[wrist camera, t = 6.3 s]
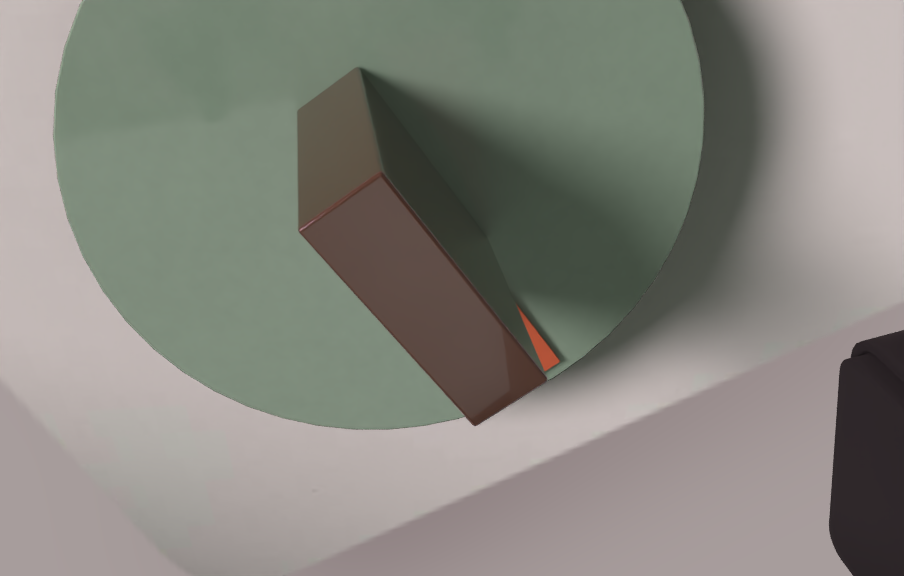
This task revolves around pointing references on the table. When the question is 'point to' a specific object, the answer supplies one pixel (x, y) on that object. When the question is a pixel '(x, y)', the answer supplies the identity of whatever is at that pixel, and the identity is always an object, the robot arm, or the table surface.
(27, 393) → the table surface
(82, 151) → the turntable plate
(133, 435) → the table surface
